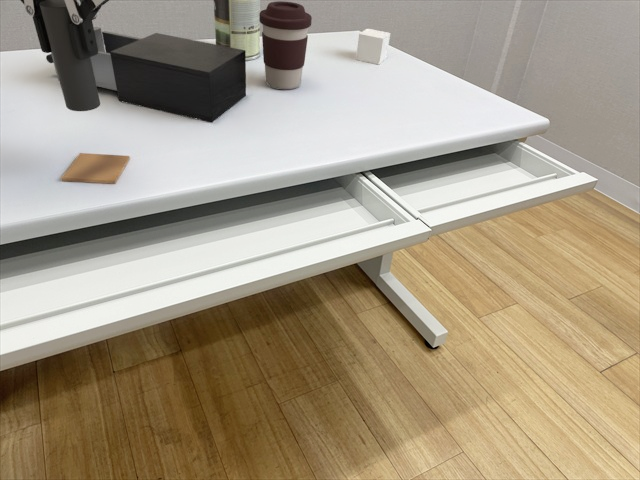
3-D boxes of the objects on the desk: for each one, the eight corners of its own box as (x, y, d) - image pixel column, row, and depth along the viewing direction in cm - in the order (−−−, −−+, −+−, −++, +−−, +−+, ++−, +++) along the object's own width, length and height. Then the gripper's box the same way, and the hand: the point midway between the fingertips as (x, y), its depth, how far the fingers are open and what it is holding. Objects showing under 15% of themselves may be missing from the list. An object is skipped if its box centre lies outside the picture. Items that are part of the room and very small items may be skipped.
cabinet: (118, 100, 85) (109, 51, 79) (161, 77, 95) (156, 32, 90) (212, 122, 81) (209, 72, 76) (246, 95, 91) (245, 50, 86)
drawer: (38, 76, 88) (28, 38, 84) (84, 58, 97) (77, 22, 93) (140, 99, 84) (134, 60, 80) (178, 78, 93) (174, 42, 89)
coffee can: (208, 57, 107) (204, -12, 98) (225, 44, 115) (222, -21, 106) (252, 64, 106) (252, -6, 97) (265, 50, 114) (266, -15, 105)
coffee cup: (254, 75, 100) (254, -2, 91) (299, 74, 103) (303, -1, 94) (265, 94, 93) (266, 11, 84) (313, 92, 96) (319, 12, 87)
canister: (61, 110, 59) (32, 5, 51) (73, 98, 62) (48, -3, 55) (94, 112, 59) (70, 8, 52) (104, 100, 62) (83, 0, 55)
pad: (61, 181, 63) (60, 177, 63) (80, 155, 69) (80, 152, 69) (115, 184, 64) (114, 180, 64) (130, 158, 69) (129, 155, 69)
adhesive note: (379, 64, 113) (383, 38, 109) (355, 59, 115) (359, 33, 111) (386, 58, 118) (390, 32, 114) (363, 53, 119) (367, 28, 115)
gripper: (-82, -153, 44) (-12, 49, 55) (69, -136, 41) (110, 75, 52) (-14, -149, 50) (37, 34, 61) (124, -133, 46) (150, 57, 58)
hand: (70, 51), depth 56 cm, fingers closed on canister, 4 cm apart
